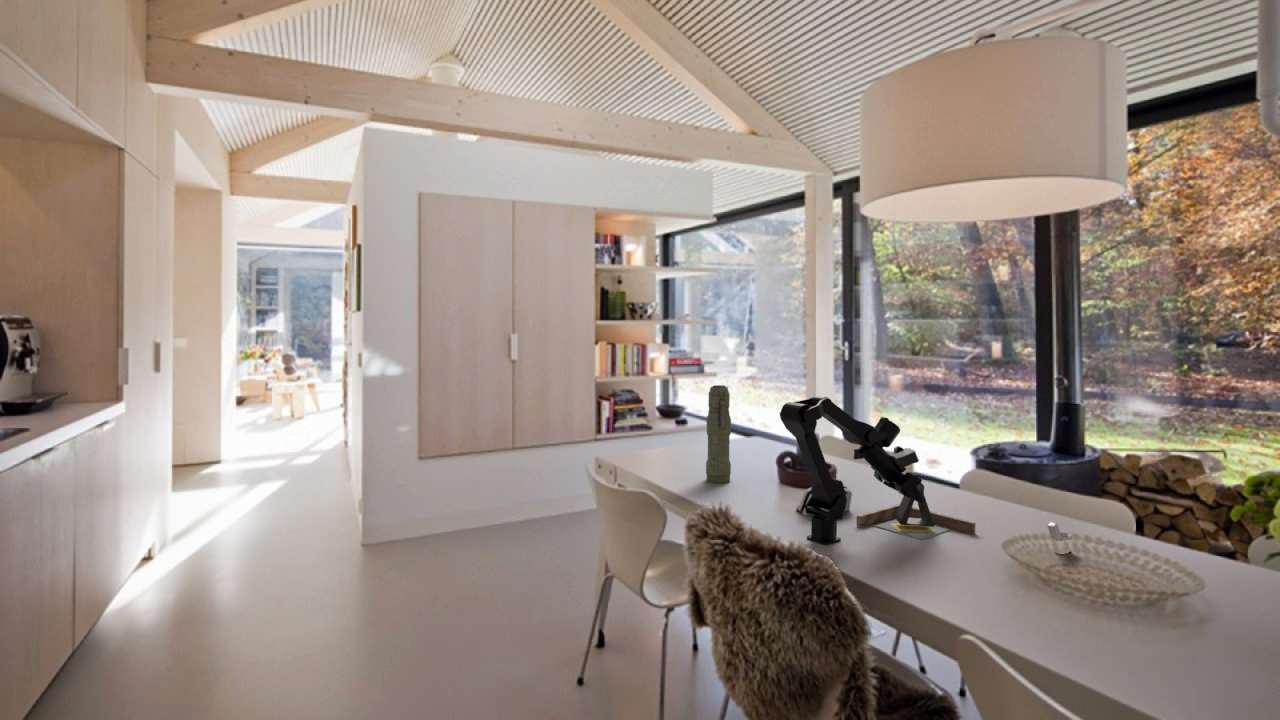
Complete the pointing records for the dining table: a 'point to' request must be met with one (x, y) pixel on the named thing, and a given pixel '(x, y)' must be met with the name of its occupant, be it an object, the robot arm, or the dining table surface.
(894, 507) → the corner walls
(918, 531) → the mat
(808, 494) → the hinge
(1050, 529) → the grey l-shaped piece
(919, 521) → the dark grey a-frame stand
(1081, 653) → the dining table surface
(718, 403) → the green stone statue
